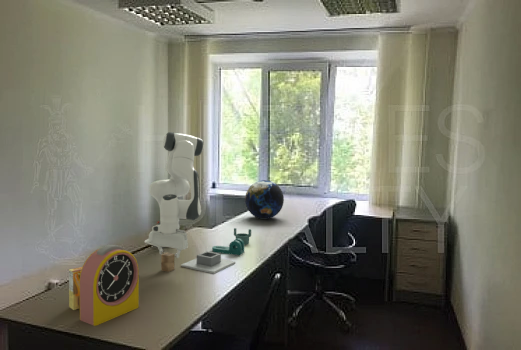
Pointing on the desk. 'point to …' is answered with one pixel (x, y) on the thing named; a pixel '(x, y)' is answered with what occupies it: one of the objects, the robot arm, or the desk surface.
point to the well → (208, 262)
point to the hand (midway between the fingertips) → (169, 255)
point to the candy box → (74, 288)
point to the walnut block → (167, 262)
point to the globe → (264, 199)
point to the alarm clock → (108, 285)
